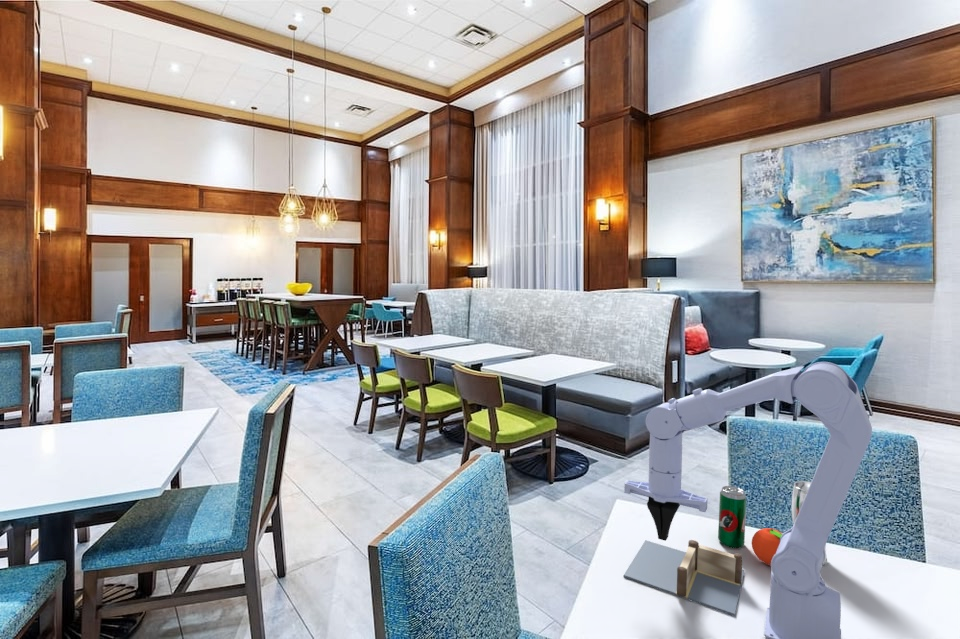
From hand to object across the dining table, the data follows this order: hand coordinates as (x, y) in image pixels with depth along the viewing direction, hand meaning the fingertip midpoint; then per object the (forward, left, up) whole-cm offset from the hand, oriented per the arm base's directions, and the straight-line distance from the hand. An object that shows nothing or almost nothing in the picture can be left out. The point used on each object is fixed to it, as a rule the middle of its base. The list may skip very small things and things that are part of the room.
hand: (663, 537), depth 90 cm
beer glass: (-23, -25, -9) cm, 35 cm away
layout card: (-3, -4, -8) cm, 10 cm away
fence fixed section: (-8, -7, -8) cm, 13 cm away
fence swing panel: (-4, -1, -8) cm, 9 cm away
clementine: (-17, -18, -9) cm, 26 cm away
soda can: (-9, -22, -9) cm, 25 cm away
